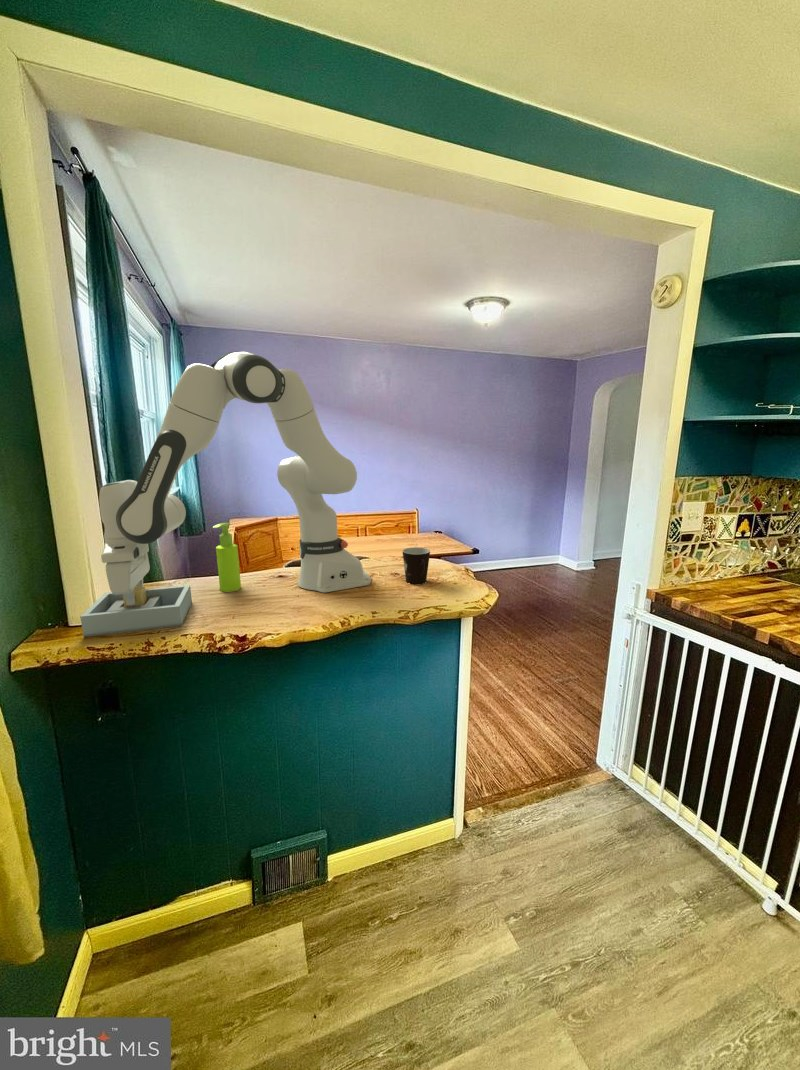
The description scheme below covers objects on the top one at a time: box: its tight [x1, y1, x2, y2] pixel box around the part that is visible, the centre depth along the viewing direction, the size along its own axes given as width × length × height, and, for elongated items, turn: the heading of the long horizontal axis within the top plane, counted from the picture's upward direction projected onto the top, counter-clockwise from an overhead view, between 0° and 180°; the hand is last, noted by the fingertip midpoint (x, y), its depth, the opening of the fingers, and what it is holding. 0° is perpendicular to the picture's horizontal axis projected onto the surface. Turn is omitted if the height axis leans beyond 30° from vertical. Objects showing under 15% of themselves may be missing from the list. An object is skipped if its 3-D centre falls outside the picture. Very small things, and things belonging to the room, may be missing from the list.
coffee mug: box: [402, 546, 431, 585], centre depth 131 cm, size 12×9×10 cm
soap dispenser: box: [212, 522, 242, 593], centre depth 125 cm, size 6×7×20 cm
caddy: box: [80, 584, 193, 638], centre depth 106 cm, size 20×16×5 cm
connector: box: [122, 586, 147, 607], centre depth 107 cm, size 4×4×6 cm
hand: (135, 599), depth 107 cm, fingers open, 5 cm apart
